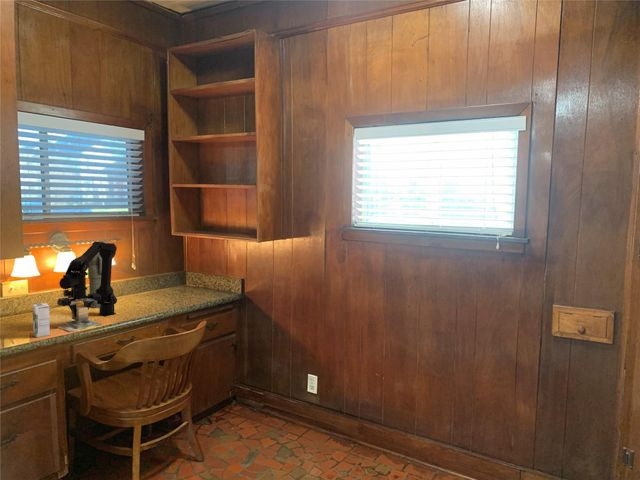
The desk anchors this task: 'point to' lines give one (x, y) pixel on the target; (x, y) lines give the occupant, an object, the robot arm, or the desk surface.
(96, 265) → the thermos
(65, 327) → the socket plate
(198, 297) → the desk surface
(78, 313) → the plug block
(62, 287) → the robot arm
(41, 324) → the syrup box
